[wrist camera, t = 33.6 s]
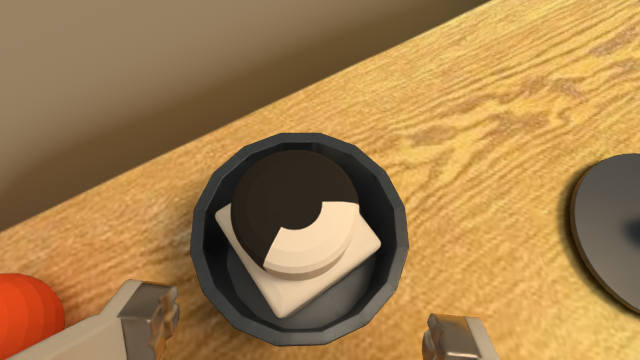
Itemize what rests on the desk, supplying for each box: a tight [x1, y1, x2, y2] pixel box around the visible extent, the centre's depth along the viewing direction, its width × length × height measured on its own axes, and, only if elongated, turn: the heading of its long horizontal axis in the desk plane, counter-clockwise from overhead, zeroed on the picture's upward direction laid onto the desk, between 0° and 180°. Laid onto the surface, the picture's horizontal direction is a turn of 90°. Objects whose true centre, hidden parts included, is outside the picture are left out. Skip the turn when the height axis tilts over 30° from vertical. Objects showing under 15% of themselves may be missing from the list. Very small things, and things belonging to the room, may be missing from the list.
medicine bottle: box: [215, 150, 381, 319], centre depth 22 cm, size 7×7×12 cm
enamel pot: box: [190, 133, 409, 346], centre depth 25 cm, size 12×12×8 cm
